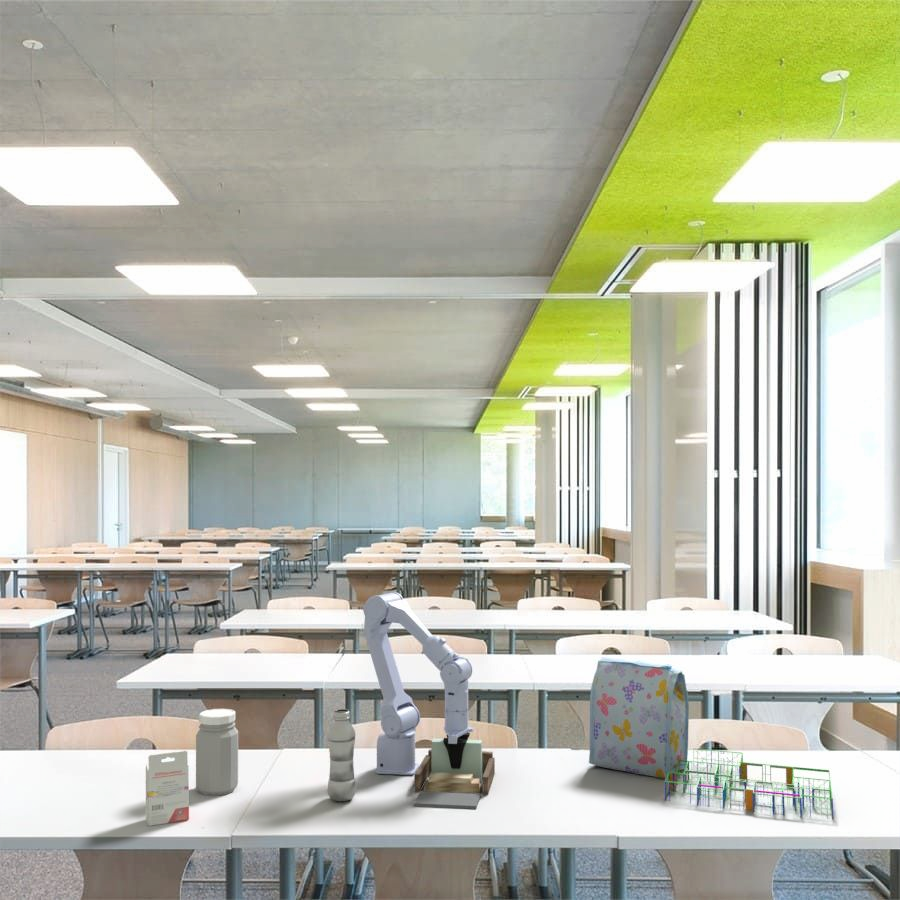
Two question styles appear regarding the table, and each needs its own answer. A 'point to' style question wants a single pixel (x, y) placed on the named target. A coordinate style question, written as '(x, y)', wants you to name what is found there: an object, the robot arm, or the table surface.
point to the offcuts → (452, 783)
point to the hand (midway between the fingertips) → (456, 765)
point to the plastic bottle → (341, 757)
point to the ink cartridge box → (167, 788)
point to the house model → (749, 794)
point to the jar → (217, 752)
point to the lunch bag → (638, 717)
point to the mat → (447, 800)
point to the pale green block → (469, 758)
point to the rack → (487, 770)
